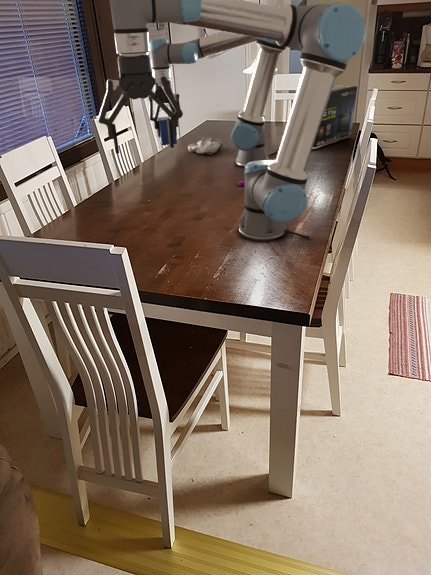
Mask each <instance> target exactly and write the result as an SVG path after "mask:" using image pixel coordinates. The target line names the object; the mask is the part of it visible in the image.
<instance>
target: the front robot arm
mask: <svg viewBox="0 0 431 575" xmlns="http://www.w3.org/2000/svg"><path fill="white" fill-rule="evenodd" d="M109 6H110V10H111V11H110V13H111V20H112V26H113V32H114V34H113V35H114V43H115V50H116V51H115V52H116V54H119V55H118V56H117V65H118V72H119V79H118V80H115V79H111V78H107V80H106V91H105V94H104V97H103V102H102V104H101V107H100V111H99V114H98V118H97V121H98V123H99V124H102V125H105V126H106V130H107V136H108V138H109V140H113V145H114V151H115V154H116V155H117V154H118V155H119V154H120V149H119V142H118V135H117V134H118V133H117V128H116V124H115V123H114V122H115V120H116V118H117V117H118V115H119V114H120V112H121V110H122V109H123V107H124V105H125V104H126V103H127V101H129V99H130V100H138V99H143V100H144V99H148V96H150V97H151V98H152V99H153V101H154V102H155V104H156V105H157V104H158V105H159V106H160V109H161V110H162V111H163V112H164V113H165V114H166V115H167V117H170V119H167V128H168V139H169V145H168V146H169V147H170V149H173V148H175V144H174V143H173V133H176V131H177V128H178V127H176V119H177V118H178V117H181V116H182V117H183V115H184V113H183V111H182V109H181V106H180V107H179V105H178V103H177V102H176V100H175V98H174V96H173V94H172V93H171V91H170V89H169V87H168V83H167V78H166V77H165V76H163V75H161V76H160V77H157V78H154V77H153V73H152V63H151V55H150V54H149V53H150V35H149V24H158V23H159V24H160V23H161V24H163V23H169V24H175V25H181V26H183V25H184V26H187V27H194V28H200V29H206V30H212V31H217V32H220V31H223V32H228V33H234V34H240V35H246V36H251V37H257V38H263V39H269V40H275V41H276V43H277V44H278V45H279V46H284V47H286V48H289V49H292V50H296V51H298V52H301V53H300V57H299V61H300V63H301V65H302V72H301V75H300V77H299V80H298V81H299V82H298V85H297V88H296V90H295V94H294V98H293V101H292V105H291V106H290V111H289V114H288V117H287V120H286V124H285V128H284V131H283V133H282V137H281V140H280V143H279V147H278V148H279V150H278V149H277V150H278V152H277V153H276V157H275V159H268V160H259V161H253V162H249V163H247V164H246V166H245V168H244V172H243V176H244V181H245V186H244V211H243V213H242V216H241V219H240V220H239V223H238V225H239V226H238V232H239V235H240V236H241V237H242V238H244V239H247V240H250V241H254V242H271V241H277V240H279V239H281V238H283V237H285V235H286V234H290V235H294V236H297V237H300V238H303V239H309V238H310V236H309V235H306V234H301V233H299V232H295V231H292V230H289V229H287V223H288V222H292V221H293V220H295V219H297V218H299V217H300V216H301V215H302V214H303V212H304V211H305V210H306V207H307V203H308V196H307V193H306V190H305V188H306V185H307V182H308V179H309V175H308V174H307V172H306V168H307V165H308V161H309V159H310V156H311V153H312V151H313V150H312V147H313V144H314V141H315V138H316V135H317V132H318V129H319V126H320V124H321V121H322V118H323V115H324V112H325V109H326V106H327V103H328V100H329V97H330V94H331V91H332V88H333V86H335V82H336V79H337V77H339V76H341V75H342V74H343V73H345V72H346V68H347V66H348V63H349V60H350V59H352V58H353V57H354V56H355V55H357V54H358V53H359V52H360V50H361V49H362V46H363V44H364V42H365V37H366V23H365V20H364V17H363V15H362V13H361V12H360V10H359V9H358V8H357V7H355V6H353V5H351V4H349V3H344V2H343V3H342V2H333V3H325V4H321V3H320V4H311V5H294V4H289V3H286V4H284V5H282V6H283V7H282V8H280V7H275V6H276V5H270V4H263V3H260V2H259V3H258V2H253V1H249V0H109ZM155 83H158V85H159V86H160V87H162V88H163V90H164V92H165V94H166V96H167V97H168V99H169V101H170V103H171V105H172V106H173V108H174V110H175V112H174V113H172V111H171V109H170V107H169V106H167V105H166V103H163V102H162V101H161V100H160V99H159V98H158V97H157V95H156V94H155V93H154V85H155ZM118 87H120V89H122V91H123V92H122V94H121V95H120V97H119V99H118V100H117V102H116V104H115V105H114V107H113V108H112V110H111V111H110V114H109V115H108V116H107V113H108V109H109V106H110V104H111V101H112V97H113V93H114V91H116V90H117V88H118ZM106 116H107V117H106ZM182 117H181V118H182ZM177 132H178V131H177Z"/></svg>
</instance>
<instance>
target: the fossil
mask: <svg viewBox="0 0 431 575" xmlns="http://www.w3.org/2000/svg"><path fill="white" fill-rule="evenodd" d="M223 147H224V142H223V141H222V140H221V139H219V138H216V139H213V138H212V137H211V136H206V135H205V136H202V138H201V139H200V140H199V141H197V142H196V143H194V142H193V143H191V144H189V145H188V146H187V149H188V151H189V152H191V153H197V154H206V155H208V156H212V155H213V154H215V153H217V151H218V150H219V149H220V148H223Z"/></svg>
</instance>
